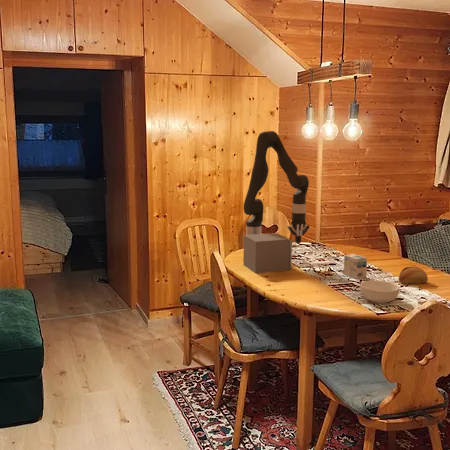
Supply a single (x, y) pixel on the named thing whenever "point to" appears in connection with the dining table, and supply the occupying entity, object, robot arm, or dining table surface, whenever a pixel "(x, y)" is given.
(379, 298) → the cereal bowl
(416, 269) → the bread roll
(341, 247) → the dining table surface
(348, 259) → the light bulb box
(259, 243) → the cabinet
